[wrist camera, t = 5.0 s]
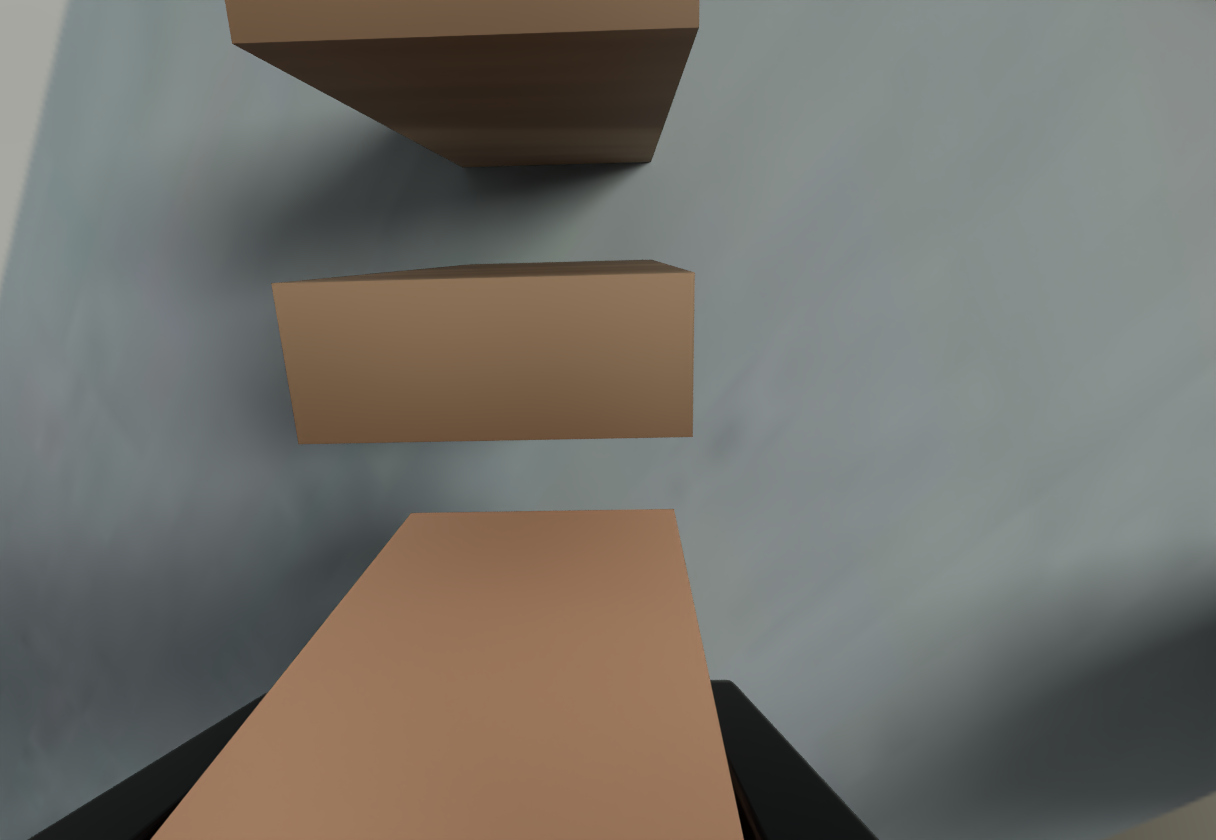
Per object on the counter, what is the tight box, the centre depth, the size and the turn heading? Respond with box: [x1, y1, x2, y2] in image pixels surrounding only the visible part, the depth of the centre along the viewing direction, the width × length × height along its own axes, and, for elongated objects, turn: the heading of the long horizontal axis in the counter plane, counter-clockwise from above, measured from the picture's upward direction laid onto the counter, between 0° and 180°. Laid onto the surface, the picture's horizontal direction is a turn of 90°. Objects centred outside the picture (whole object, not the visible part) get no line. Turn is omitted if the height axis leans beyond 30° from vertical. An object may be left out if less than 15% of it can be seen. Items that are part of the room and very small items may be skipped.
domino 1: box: [225, 0, 699, 167], centre depth 11 cm, size 2×5×10 cm, turn 92°
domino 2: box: [271, 260, 695, 444], centre depth 12 cm, size 2×5×10 cm, turn 92°
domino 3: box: [151, 509, 744, 840], centre depth 7 cm, size 2×5×10 cm, turn 92°
